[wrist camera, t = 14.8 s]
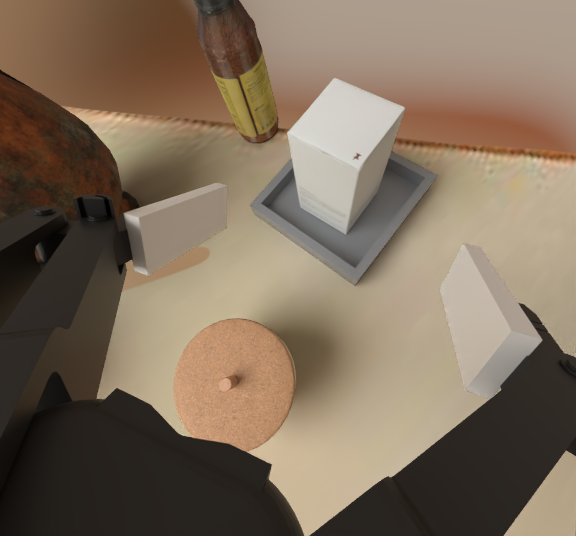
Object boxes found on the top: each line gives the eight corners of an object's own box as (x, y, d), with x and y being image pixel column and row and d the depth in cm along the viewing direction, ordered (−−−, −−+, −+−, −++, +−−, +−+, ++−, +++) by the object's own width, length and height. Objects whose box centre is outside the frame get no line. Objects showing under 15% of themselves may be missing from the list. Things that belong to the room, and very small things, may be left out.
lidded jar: (203, 422, 29) (151, 456, 20) (214, 323, 32) (172, 315, 23) (300, 430, 28) (290, 469, 19) (302, 325, 31) (294, 317, 22)
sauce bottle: (277, 108, 40) (238, -102, 21) (281, 141, 39) (242, -56, 20) (235, 116, 41) (161, -82, 22) (237, 149, 39) (158, -35, 20)
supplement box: (379, 192, 34) (410, 106, 22) (345, 236, 33) (358, 173, 21) (330, 165, 36) (335, 73, 24) (297, 206, 35) (284, 132, 23)
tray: (429, 187, 34) (437, 175, 31) (354, 285, 31) (357, 280, 29) (327, 131, 38) (327, 117, 36) (254, 214, 36) (250, 205, 33)
